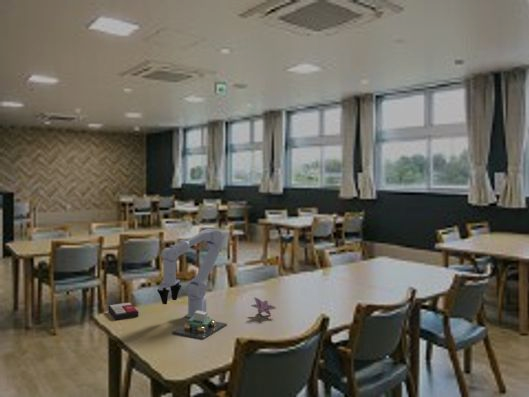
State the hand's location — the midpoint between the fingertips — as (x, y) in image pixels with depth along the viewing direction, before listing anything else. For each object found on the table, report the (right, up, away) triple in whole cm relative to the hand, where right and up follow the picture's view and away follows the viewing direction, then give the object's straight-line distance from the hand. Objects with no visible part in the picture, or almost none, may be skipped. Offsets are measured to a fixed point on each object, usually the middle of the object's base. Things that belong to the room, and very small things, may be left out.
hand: (169, 301), depth 213 cm
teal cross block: (+16, -7, -10) cm, 20 cm away
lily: (+44, -10, +10) cm, 46 cm away
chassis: (+16, -10, -10) cm, 21 cm away
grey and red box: (-25, -9, +11) cm, 29 cm away
